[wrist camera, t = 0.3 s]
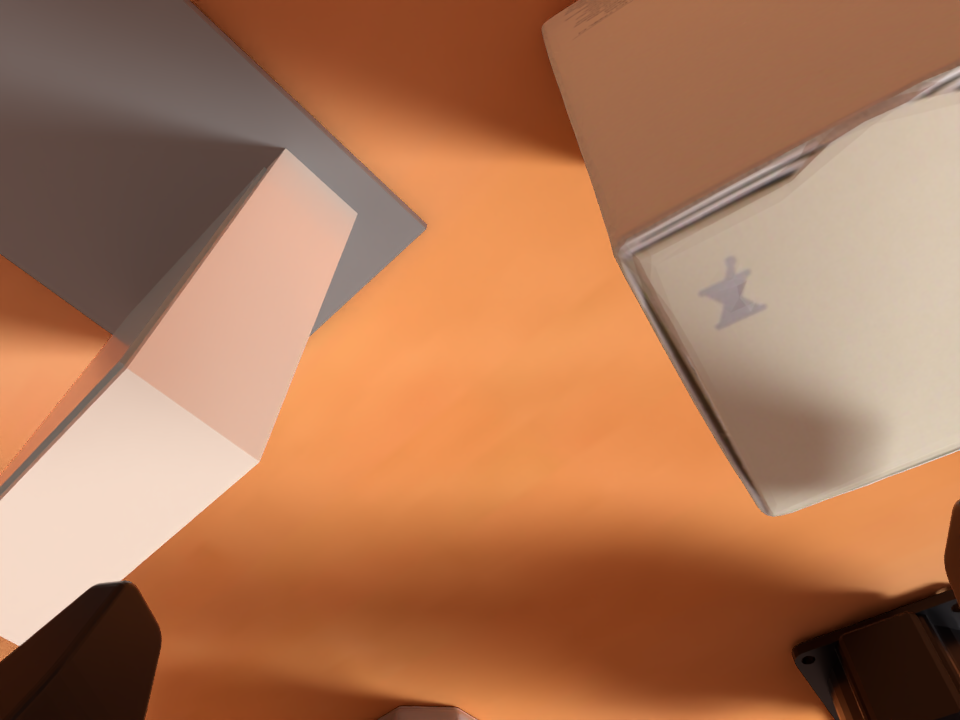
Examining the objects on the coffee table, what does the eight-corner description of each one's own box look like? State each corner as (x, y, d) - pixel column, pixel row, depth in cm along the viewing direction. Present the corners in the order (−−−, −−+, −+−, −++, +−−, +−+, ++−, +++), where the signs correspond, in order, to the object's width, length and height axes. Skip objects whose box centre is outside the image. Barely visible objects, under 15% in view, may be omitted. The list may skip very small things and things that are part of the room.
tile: (357, 213, 21) (259, 462, 12) (201, 366, 24) (34, 653, 15) (282, 145, 20) (121, 363, 11) (129, 312, 23) (-93, 587, 14)
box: (616, 177, 20) (742, 548, 10) (534, 17, 18) (579, 261, 8) (818, 70, 19) (1241, 368, 8) (754, -116, 17) (1203, -51, 6)
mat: (426, 224, 21) (426, 229, 21) (226, 409, 25) (223, 415, 24) (-75, -248, 16) (-83, -250, 16) (-238, 72, 19) (-248, 75, 19)
